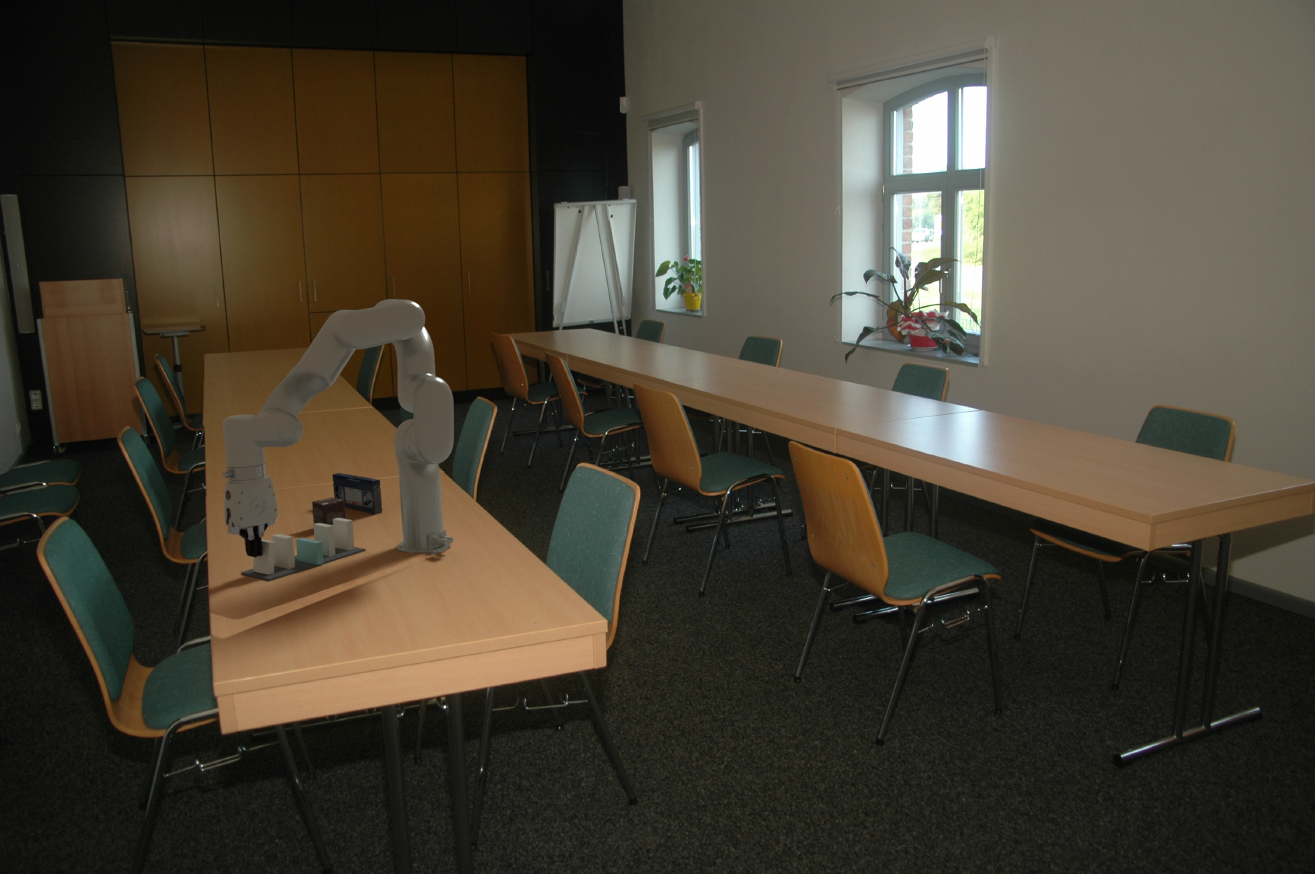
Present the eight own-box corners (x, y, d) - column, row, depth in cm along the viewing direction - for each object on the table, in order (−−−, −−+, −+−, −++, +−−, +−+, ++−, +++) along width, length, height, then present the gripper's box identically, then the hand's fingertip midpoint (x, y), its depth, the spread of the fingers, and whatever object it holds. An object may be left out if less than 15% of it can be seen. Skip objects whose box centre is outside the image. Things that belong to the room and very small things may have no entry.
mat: (365, 550, 221) (365, 548, 221) (269, 580, 199) (269, 579, 199) (337, 544, 226) (337, 543, 226) (241, 573, 204) (240, 572, 204)
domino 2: (280, 563, 210) (278, 533, 208) (295, 567, 207) (292, 536, 206) (274, 565, 208) (272, 535, 207) (289, 569, 206) (286, 538, 205)
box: (334, 523, 246) (332, 496, 245) (347, 527, 242) (345, 500, 241) (313, 528, 242) (311, 501, 240) (326, 532, 238) (323, 504, 237)
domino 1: (259, 570, 205) (261, 538, 205) (273, 573, 202) (275, 541, 202) (252, 571, 204) (255, 539, 204) (267, 574, 201) (269, 542, 201)
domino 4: (340, 545, 223) (338, 517, 222) (354, 548, 221) (352, 520, 220) (334, 547, 222) (332, 519, 221) (348, 550, 219) (346, 521, 218)
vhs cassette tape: (334, 508, 264) (331, 473, 262) (343, 506, 266) (341, 472, 265) (374, 517, 253) (371, 481, 251) (383, 514, 255) (380, 479, 254)
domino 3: (321, 551, 219) (319, 522, 218) (335, 554, 216) (333, 525, 215) (315, 553, 218) (313, 524, 216) (329, 556, 215) (327, 527, 214)
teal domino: (301, 537, 213) (322, 541, 209) (303, 558, 213) (323, 562, 210) (295, 539, 211) (316, 543, 208) (297, 560, 212) (317, 564, 208)
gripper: (225, 481, 190) (233, 567, 193) (288, 468, 202) (295, 549, 205) (203, 477, 194) (212, 562, 197) (266, 465, 206) (273, 544, 209)
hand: (254, 555), depth 201 cm, fingers closed
